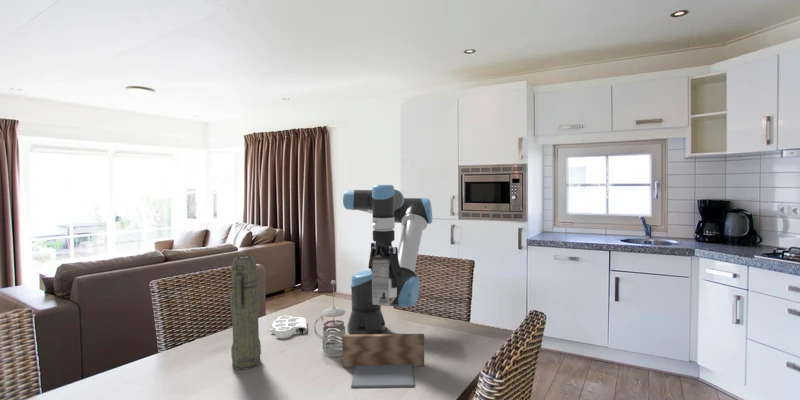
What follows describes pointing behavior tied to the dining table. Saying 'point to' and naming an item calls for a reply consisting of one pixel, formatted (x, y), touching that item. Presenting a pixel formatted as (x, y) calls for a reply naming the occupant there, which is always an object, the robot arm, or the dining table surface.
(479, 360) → the dining table surface
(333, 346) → the french press
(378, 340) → the walnut board
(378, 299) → the coffee box
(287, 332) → the white flat lobed piece
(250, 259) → the green canvas bag
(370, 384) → the grey mat
